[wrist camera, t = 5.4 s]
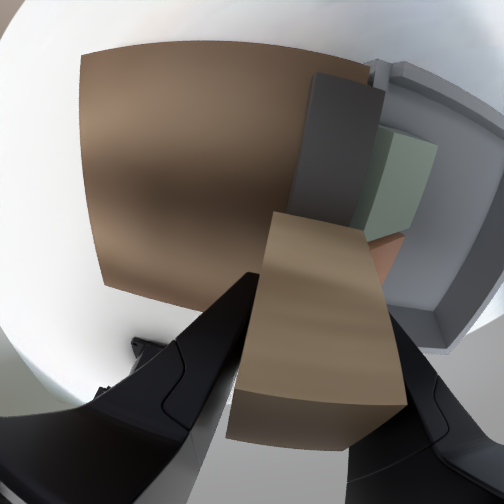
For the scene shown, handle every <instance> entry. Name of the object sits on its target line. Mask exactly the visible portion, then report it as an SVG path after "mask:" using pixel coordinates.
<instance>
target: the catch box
mask: <svg viewBox="0 0 504 504" xmlns="http://www.w3.org/2000/svg"><path fill="white" fill-rule="evenodd" d="M364 65H367V66H370V72H369V77H368V83H367V85H369V86H372V87H375V88H378V89H381V90H384V91H386V93H385V98H384V103H383V108H382V112H381V117H380V121H379V124H380V125H383V126H387V127H391V128H394V129H398V130H401V131H405V132H408V133H411V134H414V135H416V136H419V137H421V138H423V139H425V140H428V141H430V142H432V143H434V144H436V145H438V149H437V152H436V156H435V159H434V162H433V165H432V168H431V171H430V175H429V177H428V180H427V183H426V186H425V189H424V192H423V195H422V197H421V200H420V203H419V205H418V208H417V210H416V213H415V215H414V218H413V220H412V223H411V225H410V228H408V229H405V230H402V231H399V232H401V233H402V234H404V235H405V238H404V240H403V243H402V245H401V247H400V249H399V252H398V254H397V256H396V258H395V260H394V262H393V264H392V266H391V269H390V271H389V273H388V275H387V277H386V279H385V281H384V283H383V285H382V286H381V287H382V290H383V294H384V297H385V301H386V305H387V308H388V311H389V312H390V313H391V315H392V316H393V317H394V318H395V320H396V321H397V322H398V323H399V324H400V326H401V327H402V328H403V329H404V331H405V332H406V333H407V334H408V336H409V337H410V338H411V339H412V341H413V342H414V343H415V344H416V346H417V347H418V348H419V350H420V351H421V352H422V353H423V354H441V355H442V354H443V355H448V354H449V353H450V352H451V351H452V350H453V348H455V346H456V345H457V344H458V343H459V342H460V341H461V339H462V338H463V337H464V336H465V334H466V333H467V332H468V331H469V329H470V328H471V327H472V326H473V324H474V323H475V322H476V320H477V319H478V318H479V316H480V315H481V314H482V312H483V311H484V310H485V308H486V307H487V305H488V304H489V303H490V301H491V300H492V298H493V297H494V295H495V294H496V292H497V291H498V289H499V287H500V286H501V284H502V283H503V281H504V116H503V115H502V114H501V113H499V112H498V111H496V110H495V109H493V108H492V107H490V106H489V105H487V104H486V103H484V102H483V101H481V100H480V99H478V98H476V97H475V96H473V95H471V94H470V93H468V92H466V91H465V90H463V89H461V88H459V87H458V86H456V85H454V84H452V83H450V82H448V81H446V80H444V79H442V78H440V77H438V76H436V75H434V74H432V73H430V72H428V71H426V70H424V69H421V68H419V67H417V66H414V65H412V64H410V63H407V62H399V63H394V64H391V63H388V62H385V61H382V60H379V59H376V60H373V61H370V62H367V63H364Z"/></svg>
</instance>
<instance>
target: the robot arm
mask: <svg viewBox="0 0 504 504" xmlns="http://www.w3.org/2000/svg"><path fill="white" fill-rule="evenodd" d="M259 277H260V274H258V273H253V272H246V273H245V274H244V275H243V276H242V277H241V278H240V279H239V280H238V281H237V282H235V283H234V284H233V285H232V286H231V287H230V288H229V289H228V290H227V291H226V292H225V293H224V294H223V295H222V296H220V297H219V298H218V299H217V300H216V301H215V302H214V303H213V304H212V305H211V306H210V307H209V308H208V309H206V310H205V311H204V312H203V313H202V314H201V315H200V316H199V317H198V318H197V319H196V320H195V321H194V322H192V323H191V324H190V325H189V326H188V327H187V328H186V329H185V330H184V331H183V332H182V333H180V334H179V335H178V336H177V337H176V338H175V340H173V341H172V342H170V343H169V344H168V345H167V346H166V347H165V348H164V347H161V346H158V345H155V344H151V343H148V342H145V341H142V340H139V339H136V338H133V339H132V341H131V345H132V348H133V351H134V353H135V356H136V359H137V360H136V362H135V364H134V366H133V368H132V370H131V372H130V374H129V376H128V377H126V378H125V379H123V380H122V381H121V382H119V383H118V384H116V385H115V386H113V387H112V388H111V387H110V386H108V387H107V389H106V388H103V387H99V389H98V391H97V393H96V395H95V397H94V399H93V400H92V401H90V402H88V403H86V404H84V405H81V406H79V407H76V408H72V409H67V410H61V411H54V412H47V413H39V414H31V415H21V416H8V417H0V504H186V503H187V500H188V498H189V495H190V493H191V490H192V488H193V486H194V483H195V481H196V479H197V476H198V473H199V471H200V468H201V466H202V464H203V461H204V459H205V456H206V453H207V451H208V448H209V446H210V443H211V441H212V438H213V436H214V433H215V431H216V428H217V425H218V422H219V420H220V418H221V415H222V412H223V409H224V407H225V404H226V402H227V399H228V396H229V394H230V391H231V388H232V386H233V383H234V380H235V378H236V375H237V372H238V369H239V367H240V362H241V358H242V354H243V349H244V345H245V340H246V336H247V331H248V327H249V323H250V318H251V314H252V309H253V305H254V300H255V295H256V291H257V286H258V282H259ZM388 312H389V311H388ZM389 316H390V320H391V324H392V328H393V332H394V336H395V341H396V345H397V350H398V354H399V359H400V364H401V369H402V375H403V380H404V386H405V392H406V399H407V406H405V407H404V408H403V409H402V410H400V411H399V412H398V413H397V414H395V415H394V416H393V417H392V418H390V419H389V420H388V421H386V422H385V423H384V424H382V425H381V426H379V427H378V428H377V429H375V430H374V431H372V432H371V433H370V434H368V435H367V436H365V437H364V438H362V439H361V440H359V441H358V442H356V443H355V444H353V445H351V446H350V447H349V459H348V476H347V482H348V483H347V487H346V488H347V489H346V498H345V504H504V445H501V444H498V443H496V442H494V441H493V440H491V439H490V438H489V437H487V436H486V434H485V433H484V432H483V431H482V430H481V428H480V427H479V426H478V425H477V423H476V422H475V421H474V420H473V419H472V417H471V416H470V415H469V414H468V412H467V411H466V410H465V409H464V407H463V406H462V405H461V404H460V403H459V401H458V400H457V399H456V397H455V396H454V395H453V393H452V392H451V391H450V389H449V388H448V387H447V385H446V384H445V383H444V381H443V380H442V379H441V377H440V376H439V375H438V374H437V372H436V371H435V369H434V368H433V367H432V365H431V364H430V363H429V361H428V360H427V359H426V357H425V356H424V355H423V353H422V352H421V351H420V350H419V348H418V347H417V346H416V344H415V343H414V342H413V341H412V339H411V338H410V337H409V336H408V334H407V333H406V332H405V331H404V329H403V328H402V327H401V326H400V324H399V323H398V322H397V321H396V320H395V318H394V317H393V316H392V315H391V313H390V312H389Z"/></svg>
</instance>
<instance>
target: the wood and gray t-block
mask: <svg viewBox="0 0 504 504" xmlns="http://www.w3.org/2000/svg"><path fill="white" fill-rule="evenodd" d="M385 93H386V91H384V90H381V89H378V88H375V87H372V86H369V85H365V84H362V83H359V82H355V81H352V80H348V79H344V78H341V77H337V76H333V75H328V74H324V73H320V72H316V73H315V74H314V75H313V76H312V81H311V87H310V92H309V98H308V104H307V109H306V115H305V120H304V125H303V131H302V136H301V141H300V147H299V152H298V157H297V162H296V167H295V172H294V177H293V182H292V187H291V192H290V197H289V202H288V206H287V211H286V214H284V213H279V212H274V211H273V216H272V221H271V226H270V231H269V235H268V240H267V245H266V249H265V254H264V259H263V263H262V268H261V273H260V277H259V282H258V286H257V291H256V295H255V300H254V305H253V309H252V314H251V318H250V323H249V327H248V331H247V336H246V340H245V345H244V349H243V354H242V358H241V362H240V367H239V371H238V375H237V380H236V384H235V388H234V394H233V399H232V405H231V410H230V416H229V422H228V427H227V432H226V437H225V438H227V439H232V440H237V441H243V442H248V443H254V444H260V445H267V446H275V447H283V448H293V449H304V450H320V451H321V450H322V451H343V450H345V449H347V448H348V447H350V446H351V445H353V444H355V443H356V442H358V441H359V440H361V439H362V438H364V437H365V436H367V435H368V434H370V433H371V432H372V431H374V430H375V429H377V428H378V427H379V426H381V425H382V424H384V423H385V422H386V421H388V420H389V419H390V418H392V417H393V416H394V415H395V414H397V413H398V412H399V411H400V410H402V409H403V408H404V407H405V406H407V399H406V392H405V386H404V380H403V375H402V369H401V364H400V359H399V354H398V350H397V345H396V341H395V336H394V332H393V328H392V324H391V320H390V316H389V312H388V308H387V305H386V301H385V297H384V294H383V290H382V287H381V284H380V280H379V277H378V274H377V270H376V267H375V264H374V261H373V258H372V255H371V252H370V249H369V246H368V243H367V240H366V238H365V235H364V232H363V230H358V229H354V228H350V227H349V226H350V223H351V220H352V217H353V214H354V211H355V208H356V204H357V201H358V198H359V195H360V192H361V188H362V185H363V182H364V178H365V175H366V171H367V168H368V164H369V160H370V157H371V153H372V149H373V145H374V141H375V137H376V133H377V129H378V125H379V121H380V117H381V112H382V108H383V103H384V98H385Z"/></svg>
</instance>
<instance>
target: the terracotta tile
mask: <svg viewBox="0 0 504 504" xmlns="http://www.w3.org/2000/svg"><path fill="white" fill-rule="evenodd" d="M404 238H405V235H404V234H402V233H401V232H396V233H393V234H390V235H387V236H384V237H381V238H378V239H375V240H372V241H369V242H367V243H368V246H369V249H370V252H371V255H372V258H373V261H374V264H375V267H376V270H377V274H378V277H379V280H380V284H381V286H382V285H383V283H384V281H385V279H386V277H387V275H388V273H389V271H390V269H391V266H392V264H393V262H394V260H395V258H396V256H397V254H398V252H399V249H400V247H401V245H402V243H403V240H404Z"/></svg>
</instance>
